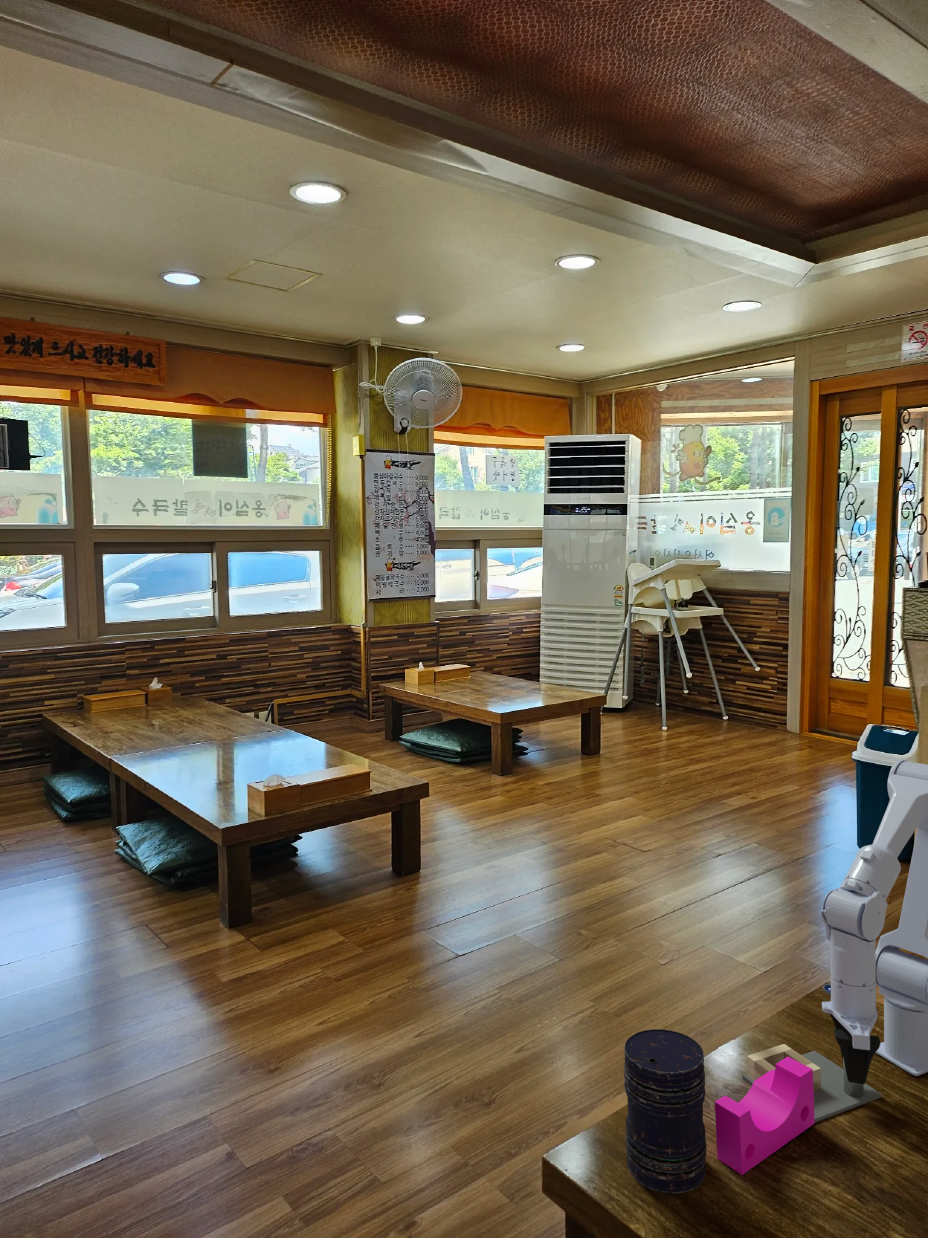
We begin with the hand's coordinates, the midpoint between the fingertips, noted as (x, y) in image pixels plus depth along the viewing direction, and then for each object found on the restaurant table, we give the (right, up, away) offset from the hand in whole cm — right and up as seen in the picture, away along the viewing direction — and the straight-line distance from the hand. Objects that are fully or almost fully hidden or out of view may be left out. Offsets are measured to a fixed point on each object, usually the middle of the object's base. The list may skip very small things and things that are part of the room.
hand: (853, 1072), depth 120 cm
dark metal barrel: (-29, -5, -12) cm, 32 cm away
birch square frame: (-9, -3, +3) cm, 10 cm away
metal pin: (0, -3, 0) cm, 3 cm away
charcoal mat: (-5, -3, +2) cm, 7 cm away
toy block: (-16, -4, -8) cm, 18 cm away
